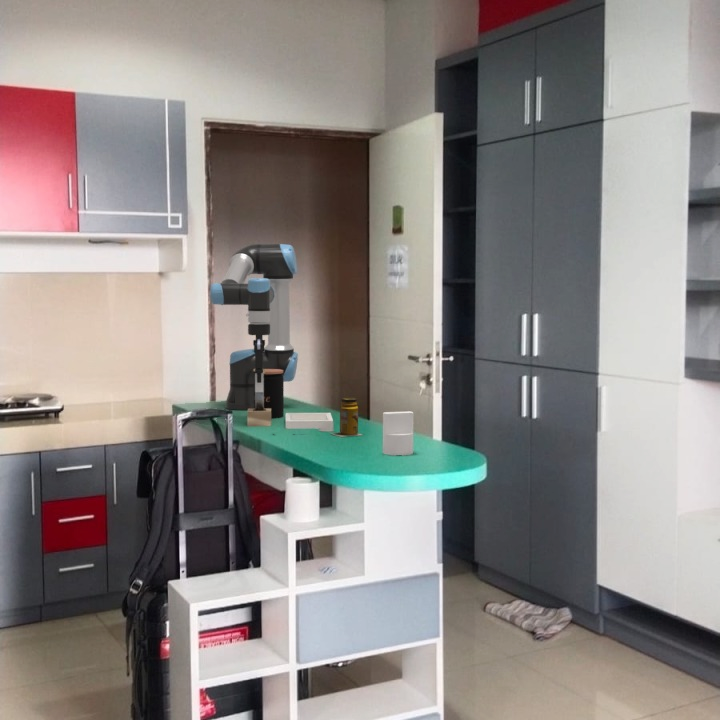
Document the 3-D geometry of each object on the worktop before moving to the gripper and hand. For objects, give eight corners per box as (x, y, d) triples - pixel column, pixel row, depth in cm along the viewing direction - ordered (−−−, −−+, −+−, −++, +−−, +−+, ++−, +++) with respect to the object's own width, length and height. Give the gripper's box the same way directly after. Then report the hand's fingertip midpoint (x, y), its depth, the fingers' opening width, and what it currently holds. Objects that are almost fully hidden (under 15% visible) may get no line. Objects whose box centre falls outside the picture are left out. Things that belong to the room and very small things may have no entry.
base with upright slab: (388, 456, 276) (388, 415, 275) (378, 450, 284) (379, 411, 283) (417, 454, 278) (417, 414, 277) (407, 449, 287) (407, 410, 286)
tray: (285, 422, 339) (285, 413, 339) (330, 422, 341) (330, 412, 340) (285, 431, 319) (285, 421, 319) (333, 431, 321) (333, 420, 320)
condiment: (363, 435, 313) (363, 399, 312) (341, 437, 309) (341, 400, 308) (351, 432, 319) (351, 396, 318) (329, 434, 315) (329, 398, 314)
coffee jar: (248, 418, 349) (248, 369, 347) (273, 416, 355) (273, 368, 354) (263, 422, 340) (263, 372, 339) (289, 419, 347) (289, 370, 345)
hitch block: (248, 425, 332) (248, 408, 332) (271, 425, 333) (271, 408, 332) (247, 429, 324) (247, 411, 324) (270, 428, 325) (270, 411, 324)
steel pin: (253, 410, 330) (253, 368, 329) (265, 410, 331) (265, 368, 329) (253, 412, 326) (253, 369, 325) (265, 412, 327) (265, 369, 325)
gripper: (248, 322, 334) (249, 388, 336) (247, 324, 317) (247, 394, 319) (270, 321, 334) (270, 388, 337) (269, 324, 317) (270, 394, 320)
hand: (259, 390), depth 328 cm, fingers closed on steel pin, 4 cm apart
